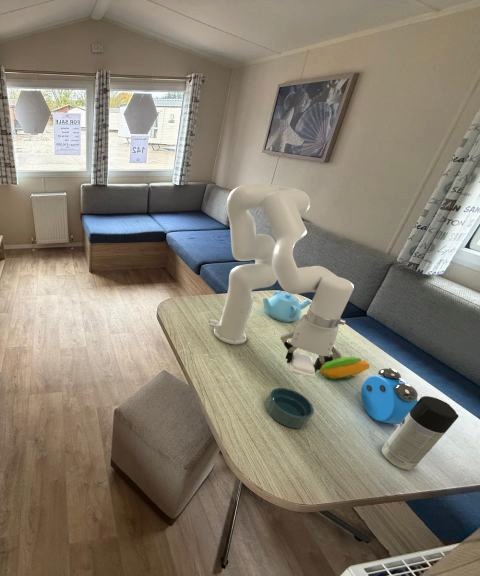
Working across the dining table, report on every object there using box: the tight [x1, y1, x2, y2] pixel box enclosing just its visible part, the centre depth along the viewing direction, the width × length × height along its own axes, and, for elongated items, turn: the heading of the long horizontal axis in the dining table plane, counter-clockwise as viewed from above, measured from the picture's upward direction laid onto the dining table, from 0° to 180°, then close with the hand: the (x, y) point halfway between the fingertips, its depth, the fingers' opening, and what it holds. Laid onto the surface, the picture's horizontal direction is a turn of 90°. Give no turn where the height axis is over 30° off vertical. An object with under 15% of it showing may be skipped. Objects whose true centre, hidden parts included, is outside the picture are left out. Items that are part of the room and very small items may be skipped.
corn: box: [318, 356, 370, 380], centre depth 107 cm, size 7×8×20 cm
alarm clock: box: [360, 367, 419, 426], centre depth 90 cm, size 13×6×15 cm, turn 171°
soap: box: [288, 351, 316, 379], centre depth 97 cm, size 9×7×3 cm
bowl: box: [265, 387, 315, 429], centre depth 92 cm, size 11×11×5 cm
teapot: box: [262, 290, 312, 323], centre depth 140 cm, size 15×17×11 cm
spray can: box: [381, 395, 459, 471], centre depth 77 cm, size 7×7×20 cm
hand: (301, 365), depth 97 cm, fingers closed on soap, 6 cm apart
